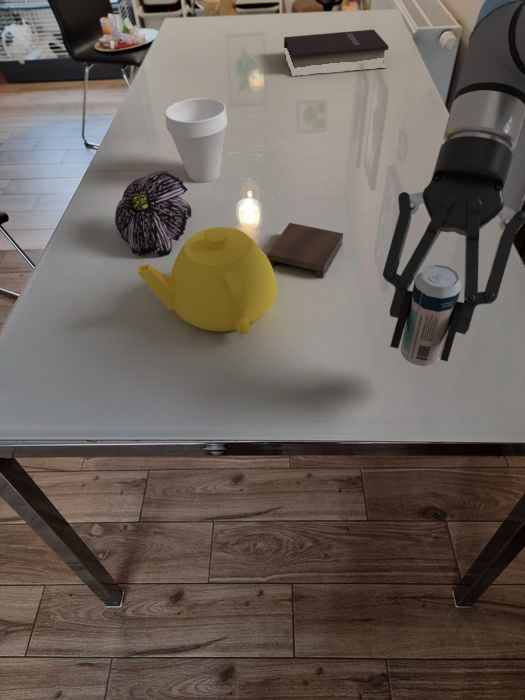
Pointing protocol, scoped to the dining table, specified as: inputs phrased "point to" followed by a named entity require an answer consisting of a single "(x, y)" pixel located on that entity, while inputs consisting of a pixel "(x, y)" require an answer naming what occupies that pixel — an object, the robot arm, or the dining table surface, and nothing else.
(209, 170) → the cup
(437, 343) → the beer can
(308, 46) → the book
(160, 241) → the decorative flower
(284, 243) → the flat wooden board
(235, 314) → the teapot
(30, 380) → the dining table surface
